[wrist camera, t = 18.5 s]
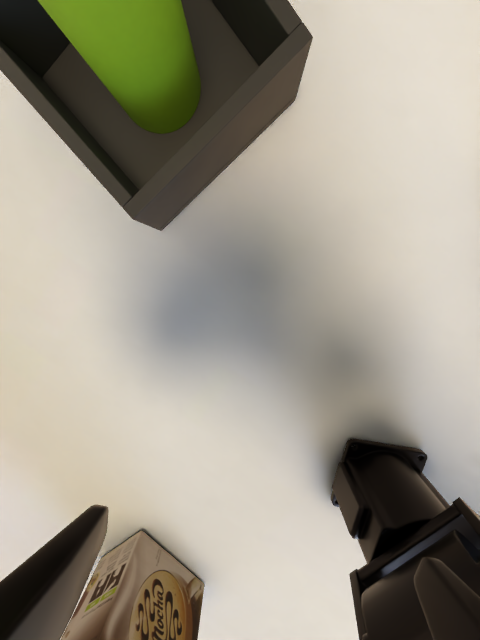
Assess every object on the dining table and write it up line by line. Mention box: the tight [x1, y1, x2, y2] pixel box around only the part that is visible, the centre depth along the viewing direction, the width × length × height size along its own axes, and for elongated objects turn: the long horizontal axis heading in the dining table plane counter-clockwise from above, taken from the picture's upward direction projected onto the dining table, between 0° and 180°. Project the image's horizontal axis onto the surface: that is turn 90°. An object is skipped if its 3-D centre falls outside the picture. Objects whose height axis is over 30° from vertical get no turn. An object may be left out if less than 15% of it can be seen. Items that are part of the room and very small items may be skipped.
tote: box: [0, 0, 313, 231], centre depth 14 cm, size 12×12×4 cm
